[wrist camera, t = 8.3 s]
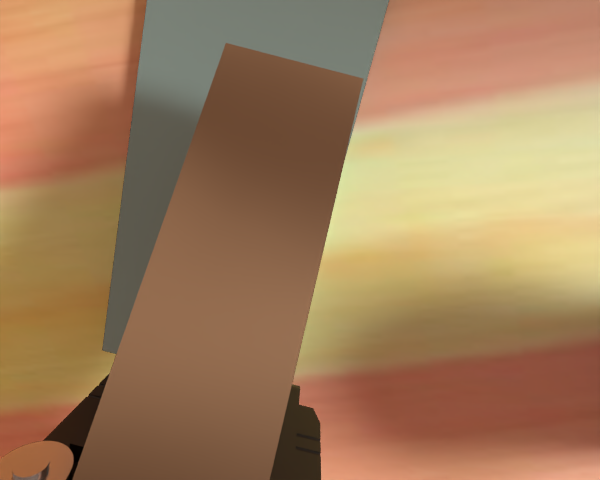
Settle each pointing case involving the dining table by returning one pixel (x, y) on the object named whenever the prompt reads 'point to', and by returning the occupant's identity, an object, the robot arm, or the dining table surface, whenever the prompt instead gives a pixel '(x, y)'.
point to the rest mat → (193, 92)
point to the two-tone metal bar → (228, 280)
